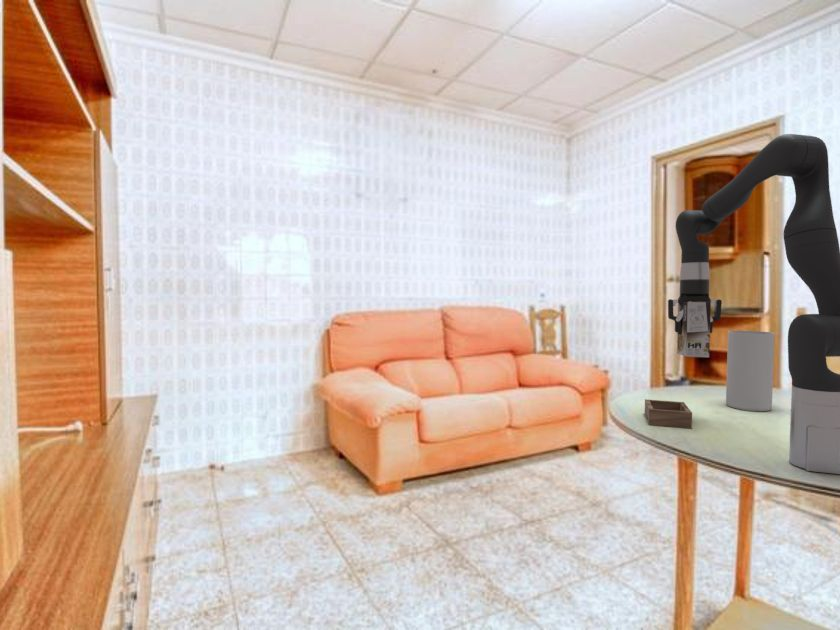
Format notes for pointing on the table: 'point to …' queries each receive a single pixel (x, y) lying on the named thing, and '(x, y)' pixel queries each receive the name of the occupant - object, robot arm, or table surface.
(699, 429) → the table surface
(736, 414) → the table surface
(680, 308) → the coffee box
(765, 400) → the cylinder vase
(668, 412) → the brown wooden tray
